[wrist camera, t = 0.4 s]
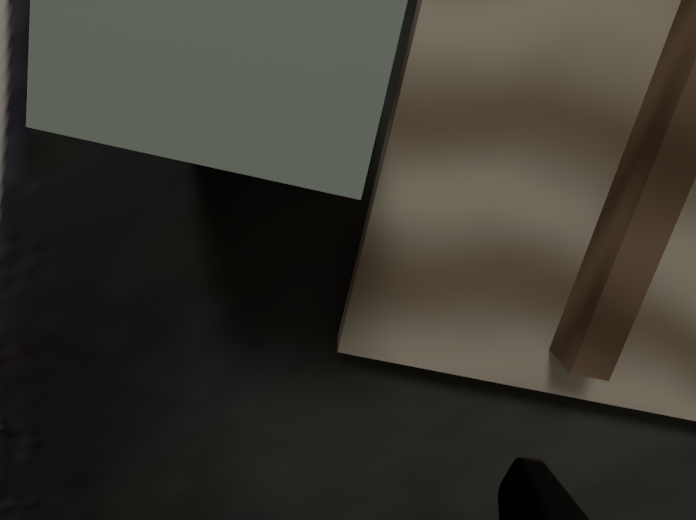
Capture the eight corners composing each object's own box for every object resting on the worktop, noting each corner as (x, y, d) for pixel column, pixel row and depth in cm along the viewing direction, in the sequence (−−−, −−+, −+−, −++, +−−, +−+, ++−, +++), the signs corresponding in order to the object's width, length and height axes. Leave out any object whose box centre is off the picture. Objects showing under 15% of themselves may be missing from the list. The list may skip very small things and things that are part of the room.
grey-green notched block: (349, 152, 20) (360, 200, 10) (187, 115, 19) (25, 126, 9) (372, 46, 19) (412, -19, 9) (200, 4, 18) (34, -117, 8)
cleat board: (725, 412, 24) (788, 461, 21) (337, 336, 22) (337, 376, 19) (963, -52, 18) (1103, -88, 15) (465, -197, 17) (496, -273, 13)
